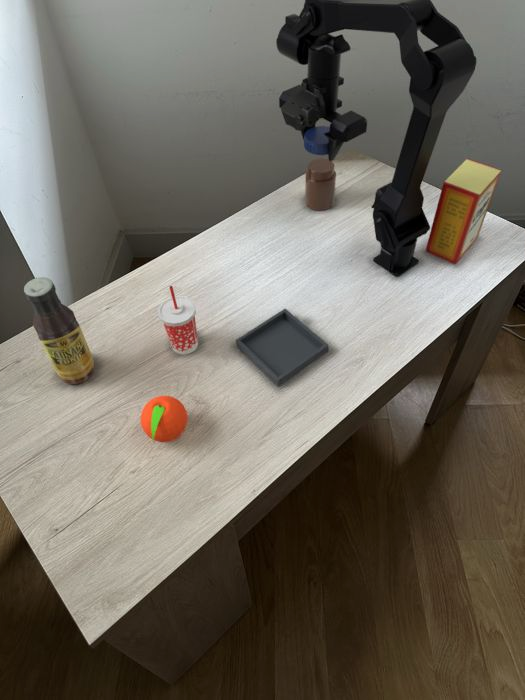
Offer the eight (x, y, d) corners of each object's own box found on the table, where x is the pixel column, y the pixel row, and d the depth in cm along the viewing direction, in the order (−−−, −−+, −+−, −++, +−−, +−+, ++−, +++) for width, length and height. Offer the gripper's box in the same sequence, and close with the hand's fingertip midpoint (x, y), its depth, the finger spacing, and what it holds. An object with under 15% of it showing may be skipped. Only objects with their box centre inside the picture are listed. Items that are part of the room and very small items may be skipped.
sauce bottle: (64, 392, 86) (15, 310, 70) (56, 365, 89) (6, 282, 74) (103, 376, 87) (62, 293, 72) (93, 351, 91) (52, 266, 75)
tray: (285, 315, 94) (285, 308, 93) (328, 351, 88) (328, 344, 87) (236, 346, 90) (235, 339, 89) (277, 387, 84) (277, 380, 83)
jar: (317, 189, 117) (319, 153, 110) (339, 201, 115) (343, 164, 108) (298, 202, 115) (299, 166, 108) (321, 214, 112) (323, 178, 105)
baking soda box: (447, 226, 108) (468, 156, 95) (477, 239, 105) (502, 168, 92) (425, 251, 103) (443, 180, 91) (455, 264, 100) (479, 193, 88)
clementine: (182, 459, 77) (173, 436, 71) (137, 453, 78) (126, 429, 72) (195, 414, 82) (188, 388, 76) (153, 408, 83) (144, 383, 77)
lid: (319, 159, 101) (320, 148, 99) (297, 145, 104) (297, 134, 102) (345, 146, 103) (346, 135, 101) (322, 133, 107) (322, 122, 105)
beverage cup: (179, 326, 93) (165, 268, 82) (209, 337, 92) (198, 279, 81) (161, 351, 90) (143, 294, 79) (191, 362, 88) (177, 306, 77)
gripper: (255, 70, 94) (259, 149, 106) (326, 107, 85) (321, 189, 97) (301, 52, 98) (300, 130, 111) (374, 85, 89) (363, 166, 101)
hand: (319, 153), depth 105 cm, fingers closed on lid, 6 cm apart
